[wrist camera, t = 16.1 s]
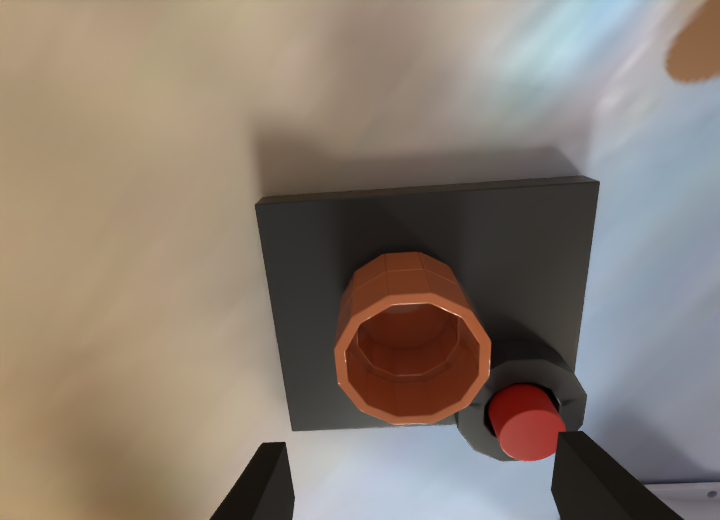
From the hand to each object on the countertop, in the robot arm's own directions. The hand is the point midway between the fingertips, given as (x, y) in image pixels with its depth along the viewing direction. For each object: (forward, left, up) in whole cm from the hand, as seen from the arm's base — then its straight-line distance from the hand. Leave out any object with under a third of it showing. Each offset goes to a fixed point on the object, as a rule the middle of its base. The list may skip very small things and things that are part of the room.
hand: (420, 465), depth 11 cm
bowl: (0, -1, -8) cm, 8 cm away
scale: (-1, 0, -10) cm, 10 cm away
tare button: (-5, +4, -7) cm, 10 cm away
